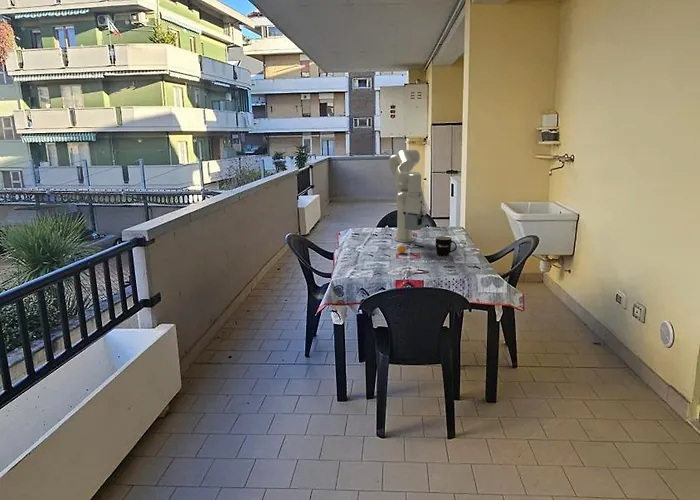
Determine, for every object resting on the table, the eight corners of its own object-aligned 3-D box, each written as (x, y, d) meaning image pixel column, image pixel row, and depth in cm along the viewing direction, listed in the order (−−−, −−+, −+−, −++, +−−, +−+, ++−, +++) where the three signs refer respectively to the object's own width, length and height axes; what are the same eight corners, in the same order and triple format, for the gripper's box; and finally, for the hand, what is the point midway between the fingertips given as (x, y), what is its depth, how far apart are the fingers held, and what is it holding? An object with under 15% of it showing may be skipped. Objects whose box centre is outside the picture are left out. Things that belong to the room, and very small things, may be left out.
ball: (400, 251, 296) (400, 243, 295) (407, 253, 293) (407, 244, 292) (395, 253, 292) (395, 245, 291) (402, 254, 289) (402, 246, 288)
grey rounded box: (411, 226, 305) (411, 212, 303) (422, 228, 300) (422, 213, 298) (404, 228, 299) (404, 214, 297) (415, 230, 295) (416, 215, 292)
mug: (434, 256, 285) (435, 239, 282) (435, 252, 293) (436, 235, 291) (456, 257, 282) (456, 240, 280) (456, 253, 291) (457, 236, 288)
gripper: (430, 195, 292) (429, 224, 297) (405, 192, 302) (404, 221, 307) (424, 197, 286) (423, 227, 291) (398, 194, 296) (397, 223, 301)
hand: (413, 223), depth 299 cm, fingers closed on grey rounded box, 7 cm apart
